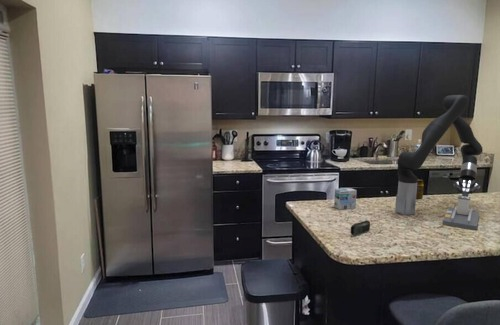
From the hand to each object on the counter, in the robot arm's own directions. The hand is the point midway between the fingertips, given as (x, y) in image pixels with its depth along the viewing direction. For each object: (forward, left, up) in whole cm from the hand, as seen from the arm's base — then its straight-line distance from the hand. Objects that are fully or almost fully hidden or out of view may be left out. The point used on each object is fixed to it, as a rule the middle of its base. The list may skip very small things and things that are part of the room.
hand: (464, 198), depth 184 cm
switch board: (-10, -6, -9) cm, 14 cm away
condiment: (+3, +34, -9) cm, 35 cm away
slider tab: (-6, -4, -6) cm, 10 cm away
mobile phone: (-71, -2, -9) cm, 72 cm away
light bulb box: (-52, +34, -9) cm, 62 cm away
